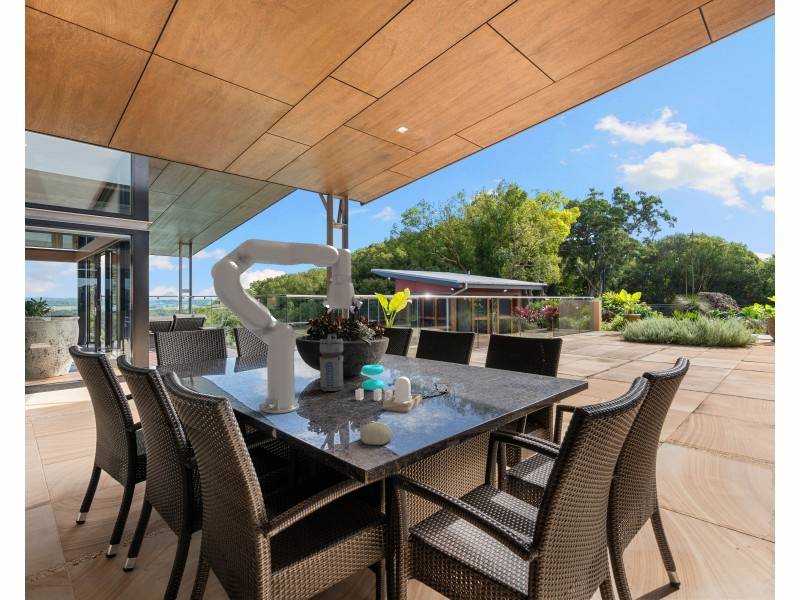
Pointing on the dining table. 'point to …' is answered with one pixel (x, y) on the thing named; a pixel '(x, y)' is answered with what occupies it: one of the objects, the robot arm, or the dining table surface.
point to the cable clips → (377, 394)
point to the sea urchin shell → (376, 434)
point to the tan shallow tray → (402, 404)
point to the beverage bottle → (331, 363)
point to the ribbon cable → (422, 397)
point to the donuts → (372, 383)
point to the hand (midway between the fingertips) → (342, 323)
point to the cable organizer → (403, 390)
